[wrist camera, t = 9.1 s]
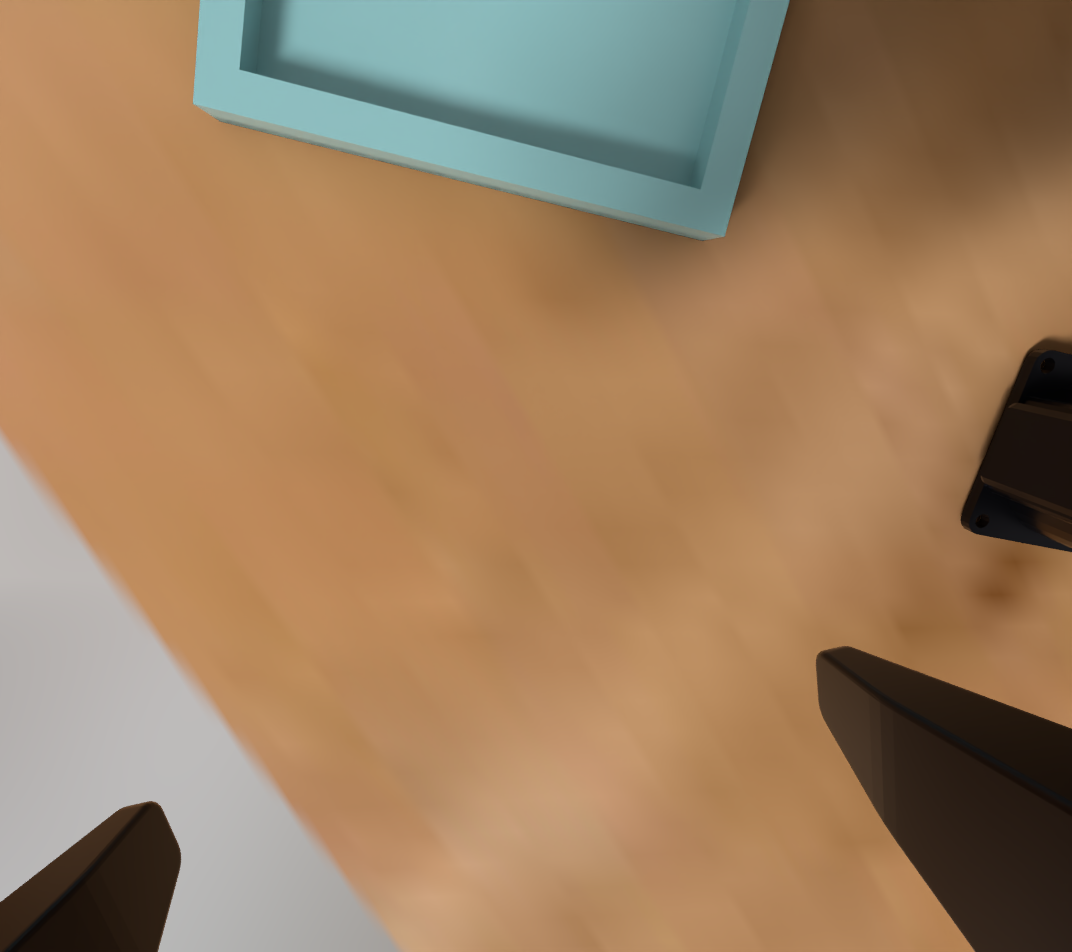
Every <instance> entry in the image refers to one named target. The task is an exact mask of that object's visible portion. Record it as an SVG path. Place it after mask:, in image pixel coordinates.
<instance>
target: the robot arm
mask: <svg viewBox="0 0 1072 952" xmlns="http://www.w3.org/2000/svg"><path fill="white" fill-rule="evenodd" d="M1043 360H1044V361H1045V364H1044V367H1043V368H1042V370H1041V369H1040V366H1041V363H1042V362H1043ZM980 515H981V518H980V520H979V521H978V522H977V523H976V519H977V518H978V516H980ZM961 524H962V526H963V527H964V528H965V529H967V530H969V531H971V532H973V533H975V534H979V535H984V536H989V537H995V538H1000V539H1005V540H1010V541H1016V542H1021V543H1026V544H1032V545H1037V546H1042V547H1048V548H1053V549H1058V550H1064V551H1069V552H1072V355H1070V354H1066V353H1062V352H1058V351H1054V350H1045V349H1038V350H1035V351H1033V352H1032V353H1030V354H1029V355H1028V356H1027V358H1026V360H1025V361H1024V364H1023V366H1022V369H1021V371H1020V374H1019V376H1018V379H1017V381H1016V383H1015V386H1014V388H1013V391H1012V393H1011V396H1010V398H1009V401H1008V403H1007V405H1006V408H1005V410H1004V413H1003V415H1002V418H1001V420H1000V423H999V425H998V427H997V430H996V432H995V435H994V437H993V440H992V442H991V444H990V447H989V449H988V452H987V454H986V457H985V459H984V462H983V464H982V466H981V469H980V471H979V474H978V476H977V479H976V481H975V484H974V486H973V488H972V491H971V493H970V496H969V498H968V501H967V503H966V506H965V508H964V510H963V513H962V516H961ZM816 671H817V685H818V700H819V706H820V710H821V713H822V716H823V718H824V720H825V722H826V724H827V726H828V727H829V729H830V731H831V733H832V734H833V736H834V738H835V740H836V741H837V743H838V745H839V747H840V748H841V750H842V752H843V754H844V755H845V757H846V759H847V761H848V762H849V764H850V766H851V768H852V769H853V771H854V773H855V775H856V776H857V778H858V780H859V782H860V783H861V785H862V787H863V788H864V790H865V792H866V794H867V795H868V797H869V799H870V801H871V802H872V804H873V806H874V808H875V809H876V811H877V813H878V814H879V816H880V817H881V819H882V821H883V822H884V824H885V825H886V827H887V828H888V830H889V831H890V833H891V834H892V836H893V837H894V839H895V840H896V842H897V843H898V844H899V846H900V847H901V849H902V850H903V851H904V853H905V854H906V856H907V857H908V858H909V860H910V861H911V863H912V864H913V865H914V867H915V868H916V870H917V871H918V872H919V874H920V875H921V877H922V878H923V879H924V881H925V882H926V884H927V885H928V886H929V888H930V889H931V891H932V892H933V893H934V895H935V896H936V897H937V899H938V900H939V902H940V903H941V904H942V906H943V907H944V909H945V910H946V911H947V913H948V914H949V916H950V917H951V918H952V920H953V921H954V923H955V924H956V925H957V927H958V928H959V930H960V931H961V932H962V934H963V935H964V937H965V938H966V939H967V941H968V942H969V944H970V945H971V946H972V948H973V949H974V951H975V952H1072V729H1071V728H1068V727H1066V726H1063V725H1060V724H1058V723H1055V722H1052V721H1049V720H1047V719H1044V718H1041V717H1039V716H1036V715H1033V714H1031V713H1028V712H1025V711H1022V710H1020V709H1017V708H1014V707H1012V706H1009V705H1006V704H1004V703H1001V702H998V701H995V700H993V699H990V698H987V697H985V696H982V695H979V694H977V693H974V692H971V691H969V690H966V689H963V688H960V687H958V686H955V685H952V684H950V683H947V682H944V681H942V680H939V679H936V678H933V677H931V676H928V675H925V674H923V673H920V672H917V671H915V670H912V669H909V668H906V667H904V666H901V665H898V664H896V663H893V662H890V661H888V660H885V659H882V658H879V657H877V656H874V655H871V654H869V653H866V652H863V651H861V650H858V649H855V648H852V647H849V646H842V647H837V648H833V649H828V650H824V651H821V652H820V653H819V654H818V655H817V658H816ZM180 865H181V852H180V848H179V845H178V843H177V840H176V838H175V836H174V834H173V832H172V829H171V827H170V825H169V823H168V820H167V818H166V816H165V814H164V812H163V809H162V808H161V806H160V805H159V804H158V803H156V802H152V801H149V802H144V803H140V804H135V805H131V806H127V807H123V808H121V809H119V810H118V811H116V812H115V813H114V814H113V815H111V816H110V817H109V818H108V819H106V820H105V821H104V822H102V823H101V824H100V825H99V826H97V827H96V828H95V829H94V830H92V831H91V832H90V833H88V834H87V835H86V836H84V837H83V838H82V839H81V840H79V841H78V842H77V843H76V844H74V845H73V846H72V847H70V848H69V849H68V850H67V851H65V852H64V853H63V854H62V855H60V856H59V857H58V858H56V859H55V860H54V861H52V862H51V863H50V864H49V865H47V866H46V867H45V868H44V869H42V870H41V871H40V872H38V873H37V874H36V875H35V876H33V877H32V878H31V879H29V881H27V882H26V883H24V884H23V885H22V886H20V887H19V888H18V889H17V890H15V891H14V892H13V893H12V894H10V895H9V896H8V897H6V898H5V899H4V900H3V901H1V902H0V952H158V949H159V945H160V941H161V937H162V934H163V930H164V927H165V923H166V919H167V915H168V911H169V908H170V904H171V900H172V897H173V893H174V889H175V886H176V882H177V878H178V874H179V870H180Z"/></svg>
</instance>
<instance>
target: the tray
mask: <svg viewBox="0 0 1072 952" xmlns="http://www.w3.org/2000/svg"><path fill="white" fill-rule="evenodd" d="M789 1H790V0H200V10H199V25H198V39H197V54H196V68H195V83H194V97H193V104H194V105H196V106H197V107H199V108H200V109H202V110H204V111H205V112H207V113H208V114H210V115H211V116H213V117H214V118H216V119H217V120H219V121H221V122H225V123H229V124H233V125H237V126H241V127H245V128H249V129H253V130H257V131H261V132H265V133H269V134H273V135H277V136H281V137H285V138H289V139H293V140H297V141H301V142H305V143H309V144H314V145H318V146H322V147H326V148H330V149H334V150H338V151H342V152H346V153H350V154H354V155H358V156H362V157H366V158H370V159H374V160H378V161H382V162H386V163H390V164H394V165H398V166H402V167H406V168H410V169H415V170H419V171H423V172H427V173H431V174H435V175H439V176H443V177H447V178H451V179H455V180H459V181H463V182H467V183H471V184H475V185H479V186H483V187H487V188H491V189H495V190H499V191H503V192H507V193H511V194H515V195H520V196H524V197H528V198H532V199H536V200H540V201H544V202H548V203H552V204H556V205H560V206H564V207H568V208H572V209H576V210H580V211H584V212H588V213H592V214H596V215H600V216H604V217H608V218H612V219H616V220H621V221H625V222H629V223H633V224H637V225H641V226H645V227H649V228H653V229H657V230H661V231H665V232H669V233H673V234H677V235H681V236H685V237H689V238H693V239H697V240H701V241H704V240H709V239H714V238H720V237H725V233H726V230H727V226H728V222H729V219H730V215H731V211H732V208H733V204H734V200H735V197H736V193H737V190H738V186H739V182H740V179H741V175H742V171H743V168H744V164H745V161H746V157H747V153H748V150H749V146H750V142H751V139H752V135H753V132H754V128H755V124H756V121H757V117H758V113H759V110H760V106H761V102H762V99H763V95H764V92H765V88H766V84H767V81H768V77H769V73H770V70H771V66H772V63H773V59H774V55H775V52H776V48H777V44H778V41H779V37H780V34H781V30H782V26H783V23H784V19H785V15H786V12H787V8H788V4H789Z"/></svg>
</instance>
